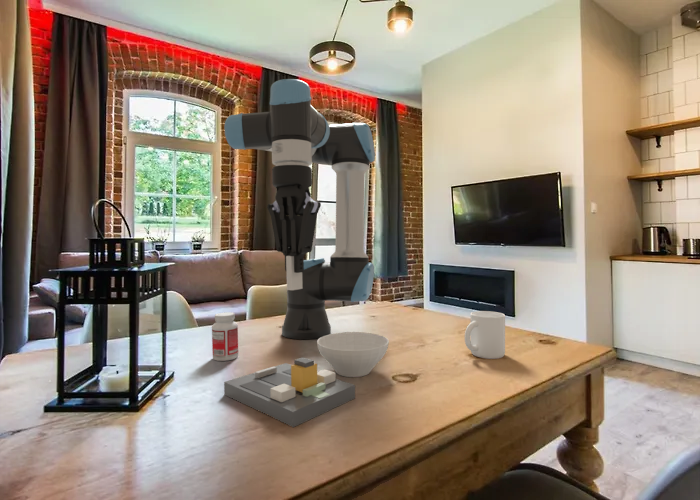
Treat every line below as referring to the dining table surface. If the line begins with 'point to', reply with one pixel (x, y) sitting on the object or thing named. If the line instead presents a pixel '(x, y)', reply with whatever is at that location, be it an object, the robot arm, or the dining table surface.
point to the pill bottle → (225, 337)
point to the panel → (291, 406)
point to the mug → (486, 334)
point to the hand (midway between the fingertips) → (294, 289)
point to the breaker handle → (303, 374)
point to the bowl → (352, 352)
